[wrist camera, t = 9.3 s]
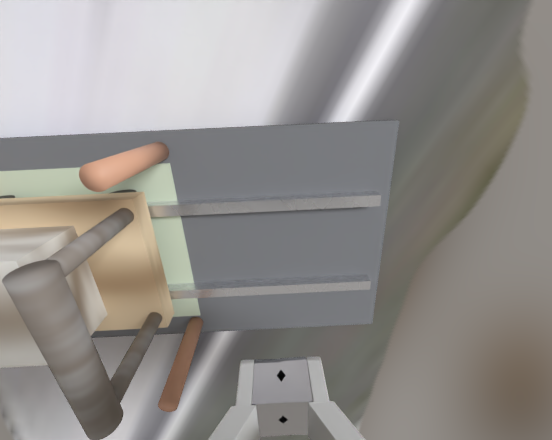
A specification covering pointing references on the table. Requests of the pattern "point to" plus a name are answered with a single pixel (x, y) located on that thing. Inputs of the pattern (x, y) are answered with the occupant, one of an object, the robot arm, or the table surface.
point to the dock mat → (259, 225)
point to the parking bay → (168, 230)
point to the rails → (267, 205)
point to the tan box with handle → (80, 293)
